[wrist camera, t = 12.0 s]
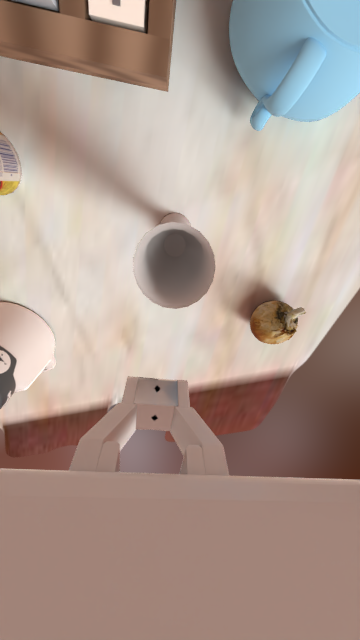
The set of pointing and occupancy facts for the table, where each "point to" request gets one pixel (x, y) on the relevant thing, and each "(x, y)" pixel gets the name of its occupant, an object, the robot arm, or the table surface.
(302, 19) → the decorative pot
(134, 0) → the tile one
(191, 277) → the chalice
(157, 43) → the button board
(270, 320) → the onion
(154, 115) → the table surface
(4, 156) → the canned food
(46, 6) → the tile two
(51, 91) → the table surface
